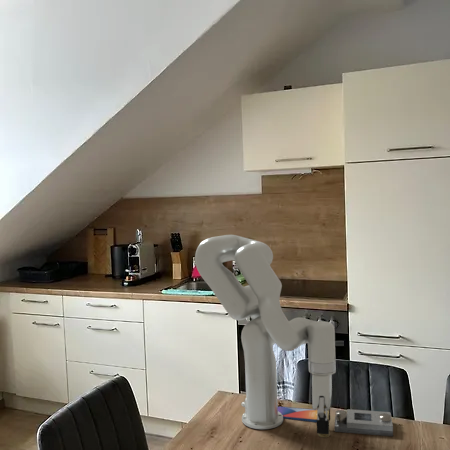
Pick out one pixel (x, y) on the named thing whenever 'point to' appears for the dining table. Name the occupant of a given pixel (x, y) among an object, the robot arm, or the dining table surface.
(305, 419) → the smartphone
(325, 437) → the pin
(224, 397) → the dining table surface
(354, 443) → the dining table surface
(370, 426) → the grey block with knobs
